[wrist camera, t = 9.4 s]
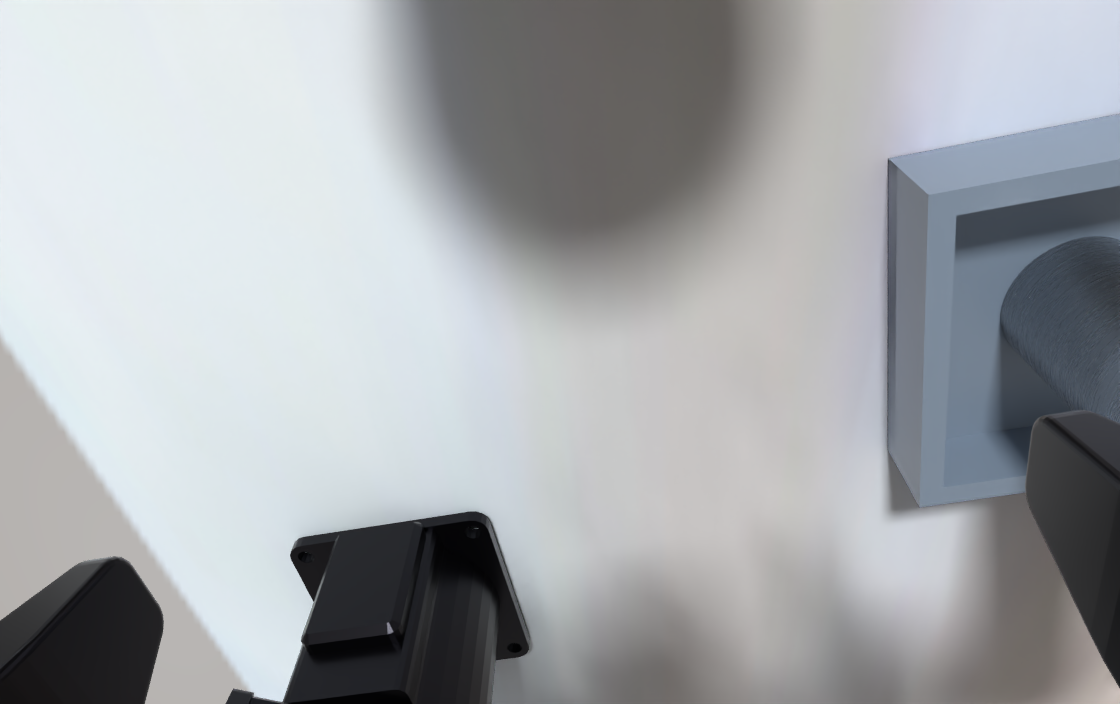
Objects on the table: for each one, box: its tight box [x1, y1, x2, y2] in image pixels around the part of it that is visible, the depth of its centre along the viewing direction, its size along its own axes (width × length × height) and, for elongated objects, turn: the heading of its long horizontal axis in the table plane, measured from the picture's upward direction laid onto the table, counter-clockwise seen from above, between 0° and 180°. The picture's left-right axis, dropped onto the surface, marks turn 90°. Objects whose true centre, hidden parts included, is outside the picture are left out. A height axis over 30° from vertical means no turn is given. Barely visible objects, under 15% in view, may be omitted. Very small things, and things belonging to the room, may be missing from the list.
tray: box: [888, 114, 1120, 508], centre depth 20 cm, size 9×9×2 cm
